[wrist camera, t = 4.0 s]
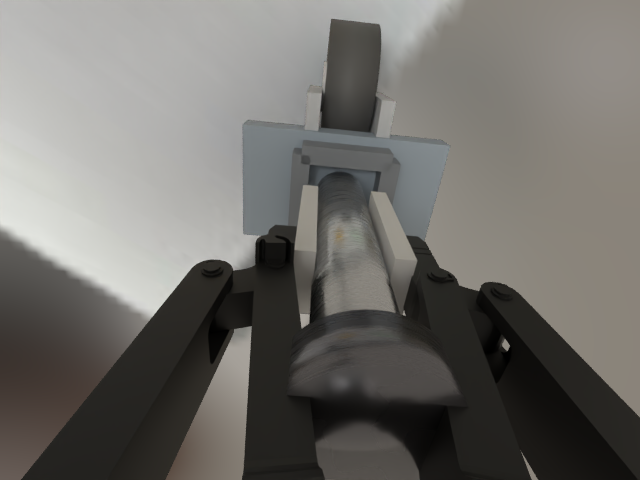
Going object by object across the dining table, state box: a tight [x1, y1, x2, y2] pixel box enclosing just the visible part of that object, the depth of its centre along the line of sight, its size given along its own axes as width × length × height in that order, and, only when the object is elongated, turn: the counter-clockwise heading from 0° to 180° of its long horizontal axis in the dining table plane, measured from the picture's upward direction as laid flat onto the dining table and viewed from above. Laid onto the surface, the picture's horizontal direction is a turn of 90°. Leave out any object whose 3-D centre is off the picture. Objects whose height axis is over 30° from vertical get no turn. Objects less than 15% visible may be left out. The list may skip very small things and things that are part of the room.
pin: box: [287, 172, 468, 480], centre depth 14 cm, size 4×4×15 cm
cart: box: [243, 19, 450, 241], centre depth 24 cm, size 12×13×11 cm
